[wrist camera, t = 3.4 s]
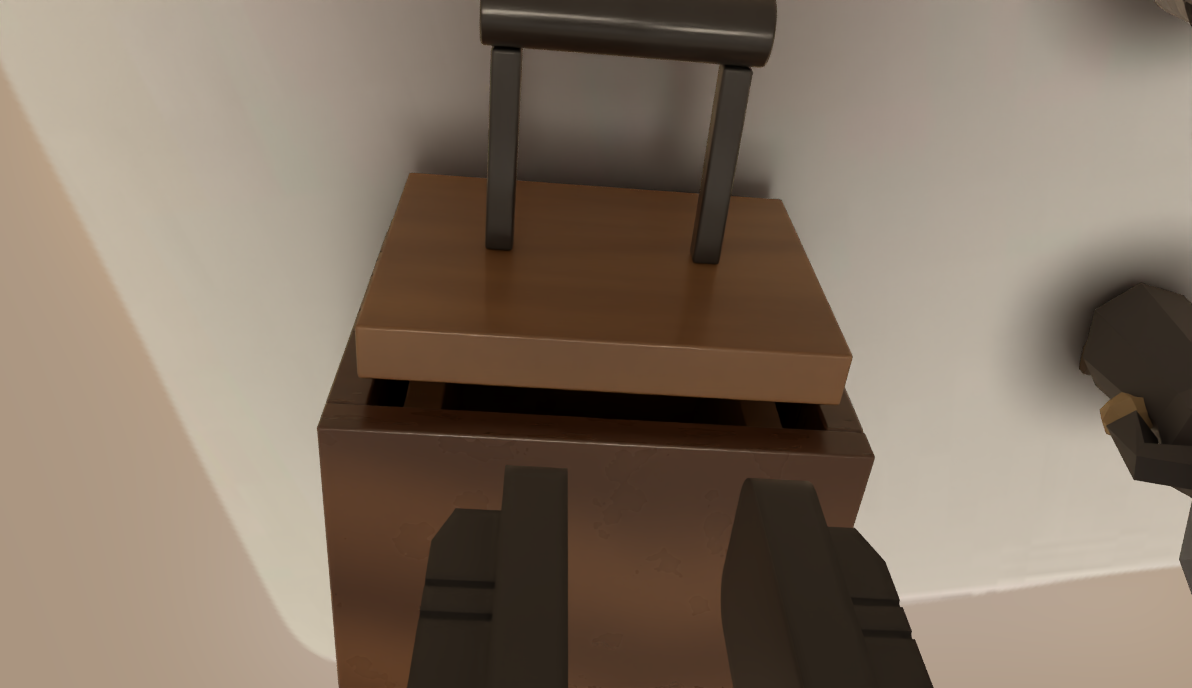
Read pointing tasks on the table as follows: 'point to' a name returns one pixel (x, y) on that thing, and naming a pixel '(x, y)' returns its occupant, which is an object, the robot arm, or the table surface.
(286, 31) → the table surface
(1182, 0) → the light bulb
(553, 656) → the robot arm
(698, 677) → the cabinet
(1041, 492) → the table surface
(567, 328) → the drawer
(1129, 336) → the wizard figurine
